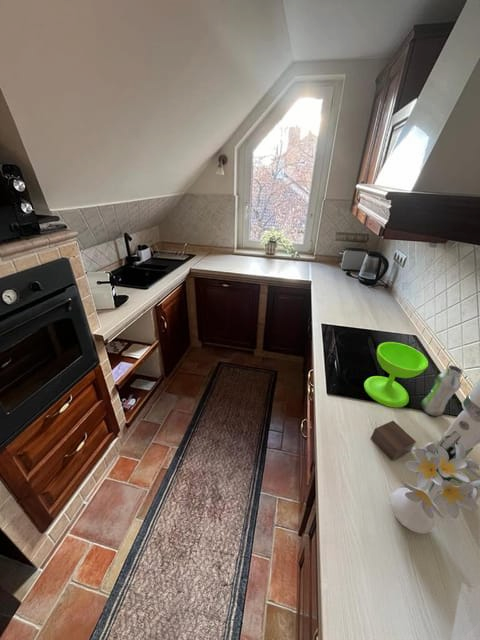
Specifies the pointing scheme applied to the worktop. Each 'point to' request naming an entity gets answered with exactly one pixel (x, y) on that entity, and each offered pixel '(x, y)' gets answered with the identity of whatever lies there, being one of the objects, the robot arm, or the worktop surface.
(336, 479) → the worktop surface
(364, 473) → the worktop surface
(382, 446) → the walnut block
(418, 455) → the flower vase
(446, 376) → the plastic bottle
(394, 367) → the wineglass
